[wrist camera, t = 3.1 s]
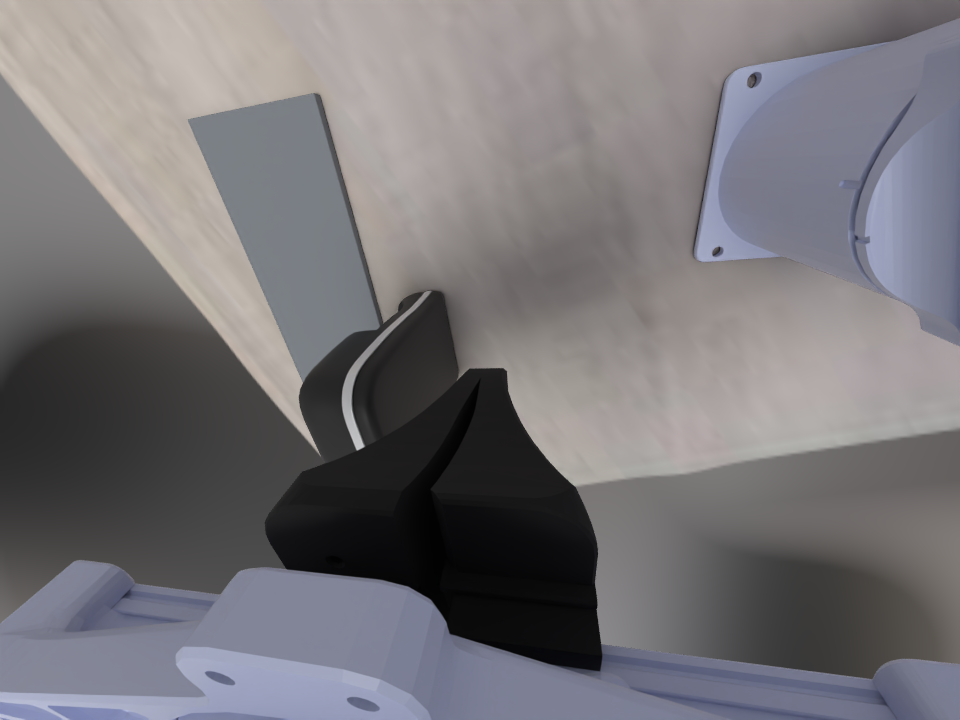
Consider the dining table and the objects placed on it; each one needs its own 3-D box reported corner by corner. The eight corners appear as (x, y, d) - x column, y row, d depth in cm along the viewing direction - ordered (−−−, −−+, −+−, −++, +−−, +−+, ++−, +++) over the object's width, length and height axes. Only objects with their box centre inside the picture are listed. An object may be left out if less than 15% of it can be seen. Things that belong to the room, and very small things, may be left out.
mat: (319, 94, 18) (313, 93, 17) (405, 405, 27) (403, 409, 27) (195, 120, 19) (187, 119, 19) (317, 405, 29) (314, 408, 28)
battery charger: (388, 290, 22) (264, 387, 13) (443, 285, 22) (356, 385, 12) (412, 379, 26) (330, 510, 16) (461, 378, 25) (405, 515, 15)
